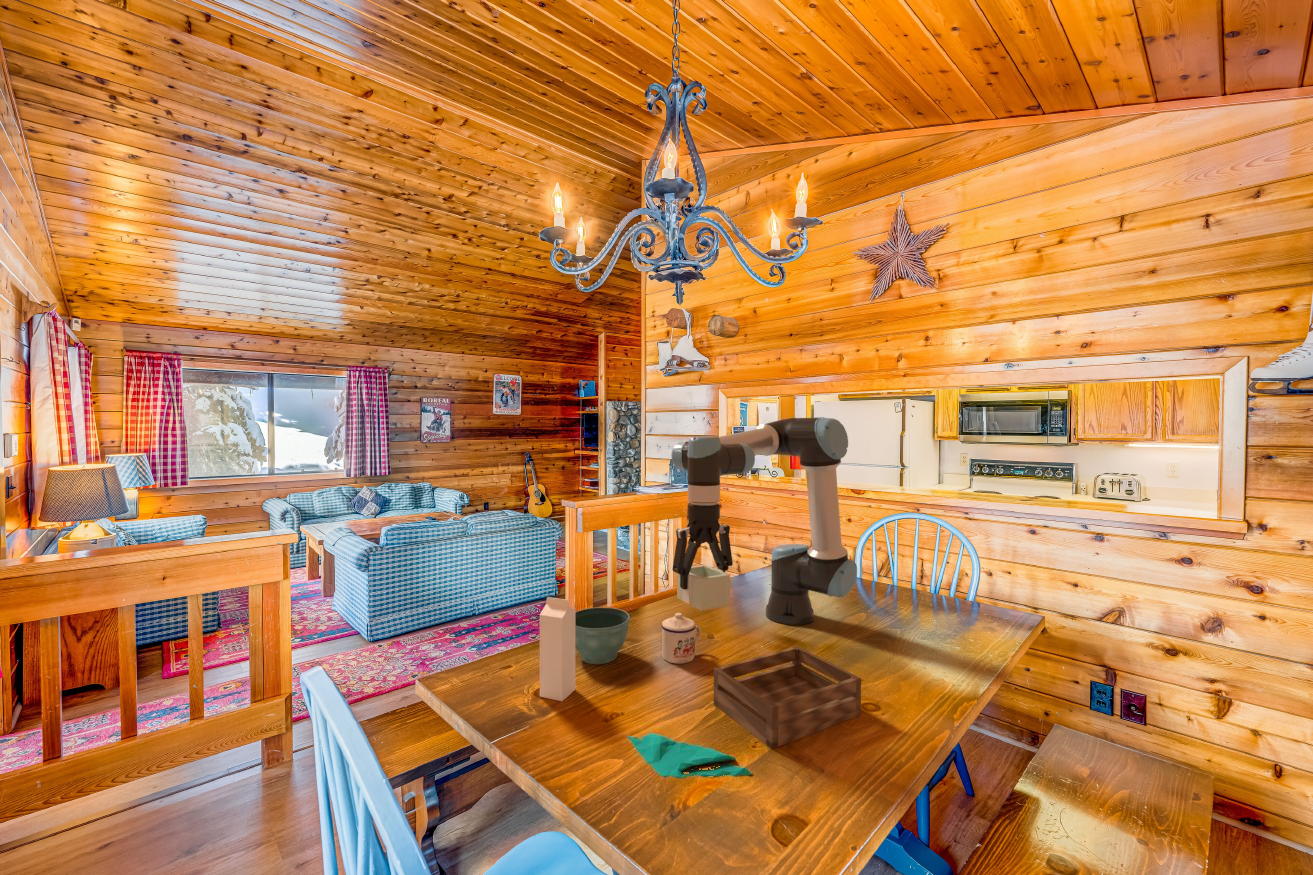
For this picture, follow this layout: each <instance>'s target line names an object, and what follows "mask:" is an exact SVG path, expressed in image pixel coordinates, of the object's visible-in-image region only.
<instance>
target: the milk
mask: <svg viewBox="0 0 1313 875" xmlns="http://www.w3.org/2000/svg"><path fill="white" fill-rule="evenodd" d="M575 612H576V609H575V608H573V607H571V606H570V600H569V599H563V598H558V597H550V596H548V597H546V603H545V606H543V608H542V611H541V612H540V614H539V697H540V698H544V699H549V700H553V701H558V702H564V701H565V699H567V698H568V697H569V696H570V695H571V694H572V693H573V692H574V691H575V690H576V648H575Z"/></svg>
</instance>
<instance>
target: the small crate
mask: <svg viewBox="0 0 1313 875" xmlns="http://www.w3.org/2000/svg"><path fill="white" fill-rule="evenodd" d="M715 568H716V567H711V566H709V565H708V564H700V565H694V566H693V565H692V567H691V570H690V572H689V575H692V604H688V605H689V606H691V607H693V608H694V609H697V610H698V611H700V612H701V611H705V610H710V609H712V610H713V609H716V608H722V607H727V606H730V602H731V601H730V596H731V595H730V594H731V593H730V592H731V588H730V587H731V585H730V584H731V581H730V580H731V577H730V576H731V574H729V573H727V572H725V573H724V572H722V571H719V570H717V569H715ZM676 580H677V581H676V585H677V586H676V589H677V590H676V594H677V595H676V596H677V597H676V599H678V600H680V601H682V602H684V601H683V589H682V588H681V587H680V574H678V573H676Z"/></svg>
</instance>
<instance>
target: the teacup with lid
mask: <svg viewBox="0 0 1313 875" xmlns="http://www.w3.org/2000/svg"><path fill="white" fill-rule="evenodd" d="M661 629H662V631H661V633H662V636H661V638H662V641H661V643H662V644H661V646H662V647H661V648H662V649H661V651H662V652H661V655H662V659H663V660H665V662H668V663H671V664H675V665H676V664H686V663H687V664H688V663H690V662H692V661H693V660H694V658H695V656H696V655H695V652H696V651H695V650H696V648H695V644H697V643H698V641H699V640H700V638H701V633H702V632H701V628H700V626H698V625H696V623H695V621H694V620H692V619H691V618H687V617H686V616H683V614H682V613H681V612H675V614H674V616H672V617H668V618H665V619H664V620H663V621H662V623H661ZM695 630H696V631H695ZM695 632H696V633H695Z"/></svg>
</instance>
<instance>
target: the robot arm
mask: <svg viewBox="0 0 1313 875" xmlns="http://www.w3.org/2000/svg"><path fill="white" fill-rule="evenodd" d="M848 437H849V436H848V433H847V430H846V428H845V426H844V424H842V423H841V421H840V420H838V419H836V418H831V417H830V418H829V417H823V416H822V417H821V416H820V417H788V418H783V419H778V420H776V421H775V420H774V421H770V422H768V423H762V424H759V425H758V426H756V427H755V428H754V429H751V430H746V431H740V432H736V433H732V434H727V435H721V436H712V435H711V436H703V435H701V436H696V435H695V436H691V437H690V438H689V439H688V441H681V442H677V443H676V444H675V445H674V446H673V448H672V450H671V462H672V464H673V466H674V467H675V468H676V469H678V470H682V471H685V472H687V501H688V502H689V503H687V509H686V510H687V512H686V514H687V520H688V521H687V523H688V524H687V525H686V527H685V528H682V529H681V528H676V530H675V535H676V544H675V548H674V549H675V551H674V558H673V562H672V563H673V565H672V571H673V572H674V573H675V574H677V573H678V574H680V587H681V588H682V589H683V601H682V602H684V603H686V604H687V605H689V604H692V575H689V572H690V570H691V567H693V565H694V562H695V558H696V555H697V553H698V550H699V548H700V547H701V545H702V544H705V543H706V544H708V547H709V550H710V552H711V554H712V558H713V560H714V563H715V565H716V567H714V568H715V569H717V570H719V571H722V572H724V573H726V571H728V570H729V568H730V567H731V566H733V564H734V563H733V555H732V550H731V540H730V530H731V526H730V525H728V524H725V523H721V524H720V523H719V520H720V518H721V516H720V515H721V505H720V501H721V476H729V475H730V476H732V475H741V474H746V473H748V472H750V471H751V470H752V469H753V468H754V466H755V462H756V461H755V460H756V456H759V455H762V456H764V457H765V456H766V457H768V456H773V455H776V456H777V455H778V456H779V455H780V456H789V457H790V456H791V457H798V458H799V465H800V466H801V468H803V469H804V470H805V476H806V478H805V479H806V488H807V499H808V500H807V502H808V513H809V525H810V535H811V546H810V547H809V545H807V544H803V543H802V544H801V543H800V544H799V543H792V544H791V543H790V544H781V545H778V546H775V547H773V549H772V550H771V551H772V552H771V559H770V562H771V591H770V595H769V597H768V602H767V604H766V605H765V606H766V607H765V616H766V618H767V619H769V620H771V621H773V622H775V623H778V624H784V625H791V626H792V625H793V626H795V625H796V626H798V625H799V626H800V625H806V624H811V623H812V622H813V621H814V619H815V617H814V616H815V611H814V608H813V606H812V601H811V599H810V596H809V591H811V592H815V593H818V594H821V595H826V596H828V597H835V598H841V599H843V598H845V597H846V596H848V595H849V594H850V593H851V592H852V590H853V588H854V586H855V583H856V581H857V576H858V575H857V574H858V567H857V564H856V562H855V560H852V558H851V559H850V558H849V556H848V555H849V554H848V553H849V552H848V549H847V548H846V547H844V546H843V545H842V531H841V518H840V517H841V516H840V507H839V506H840V505H839V490H838V489H839V488H838V478H837V467H838V466H840V465H841V464H842V459H843V458H845V456H846V455H847V452H848V448H849V438H848ZM717 534H718V536H717Z"/></svg>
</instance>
